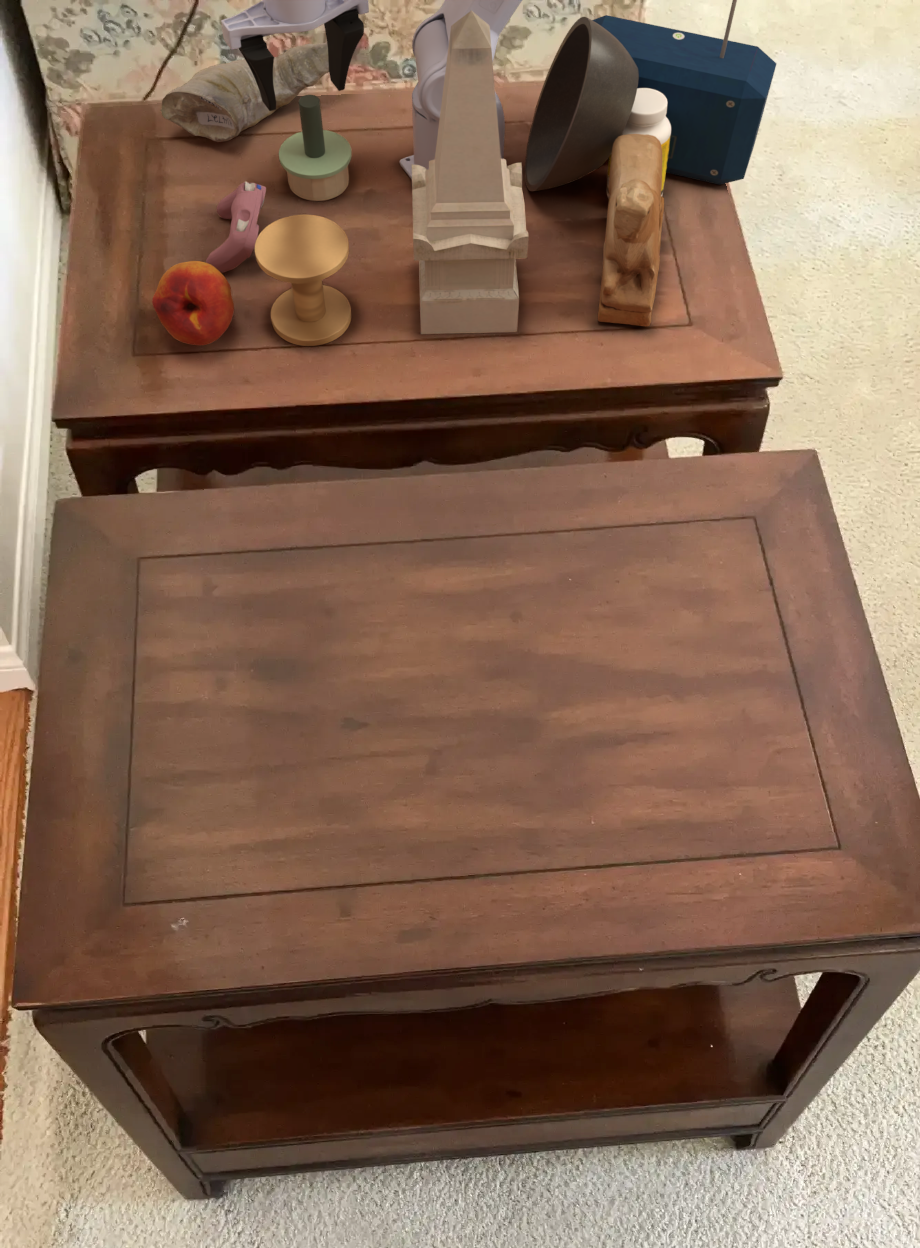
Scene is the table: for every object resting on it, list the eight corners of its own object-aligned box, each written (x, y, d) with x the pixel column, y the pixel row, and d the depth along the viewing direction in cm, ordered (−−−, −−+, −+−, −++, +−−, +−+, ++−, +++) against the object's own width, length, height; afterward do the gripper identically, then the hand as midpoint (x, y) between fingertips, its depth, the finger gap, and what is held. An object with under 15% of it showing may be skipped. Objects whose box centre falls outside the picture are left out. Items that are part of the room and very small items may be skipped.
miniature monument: (515, 262, 120) (532, -28, 94) (521, 335, 114) (541, 47, 88) (415, 264, 119) (404, -26, 94) (416, 337, 114) (406, 49, 88)
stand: (332, 276, 118) (324, 203, 111) (370, 330, 114) (364, 258, 107) (253, 304, 116) (239, 232, 108) (289, 360, 112) (277, 289, 104)
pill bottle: (673, 200, 124) (687, 106, 115) (626, 219, 123) (636, 125, 114) (641, 170, 127) (652, 76, 118) (594, 188, 126) (602, 94, 117)
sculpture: (590, 325, 115) (607, 200, 102) (603, 213, 123) (620, 85, 110) (654, 331, 114) (679, 206, 101) (661, 219, 123) (685, 91, 110)
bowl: (655, 104, 106) (592, 94, 105) (578, 227, 127) (524, 220, 126) (653, -10, 108) (590, -22, 107) (577, 129, 130) (524, 121, 128)
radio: (753, 147, 130) (803, -33, 113) (739, 194, 125) (787, 15, 108) (575, 107, 133) (597, -73, 116) (555, 152, 128) (574, -29, 111)
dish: (333, 155, 129) (330, 129, 126) (359, 189, 126) (357, 163, 123) (279, 173, 127) (275, 147, 124) (304, 208, 124) (300, 182, 121)
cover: (333, 125, 126) (328, 69, 121) (363, 165, 123) (359, 110, 117) (267, 145, 124) (259, 90, 119) (296, 187, 121) (289, 132, 115)
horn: (244, 123, 120) (173, 49, 118) (217, 187, 130) (151, 119, 128) (354, 41, 128) (289, -29, 127) (321, 107, 139) (260, 43, 137)
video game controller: (244, 288, 119) (266, 240, 114) (202, 272, 118) (222, 222, 112) (255, 225, 125) (277, 176, 119) (214, 208, 123) (234, 158, 118)
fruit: (147, 350, 113) (127, 287, 106) (183, 295, 117) (166, 231, 110) (220, 369, 111) (204, 307, 105) (254, 314, 115) (242, 250, 109)
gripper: (343, -80, 110) (350, 55, 121) (200, -44, 106) (222, 91, 117) (376, -43, 106) (380, 92, 118) (230, -5, 102) (249, 130, 114)
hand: (303, 94), depth 117 cm, fingers open, 7 cm apart
